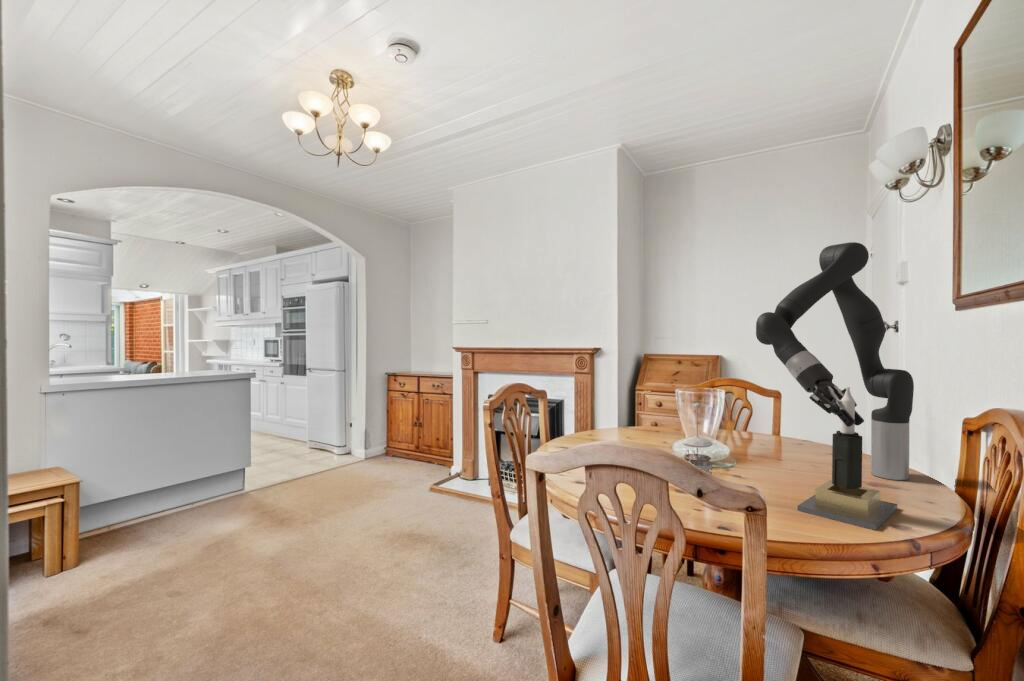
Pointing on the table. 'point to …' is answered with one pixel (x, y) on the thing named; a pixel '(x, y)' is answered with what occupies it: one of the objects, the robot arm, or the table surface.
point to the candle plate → (850, 516)
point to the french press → (697, 459)
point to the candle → (847, 450)
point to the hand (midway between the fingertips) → (856, 423)
